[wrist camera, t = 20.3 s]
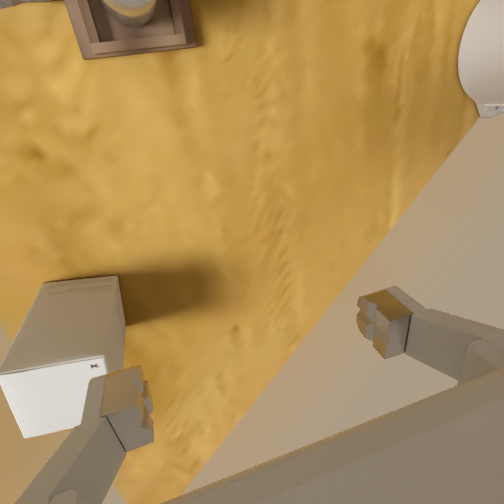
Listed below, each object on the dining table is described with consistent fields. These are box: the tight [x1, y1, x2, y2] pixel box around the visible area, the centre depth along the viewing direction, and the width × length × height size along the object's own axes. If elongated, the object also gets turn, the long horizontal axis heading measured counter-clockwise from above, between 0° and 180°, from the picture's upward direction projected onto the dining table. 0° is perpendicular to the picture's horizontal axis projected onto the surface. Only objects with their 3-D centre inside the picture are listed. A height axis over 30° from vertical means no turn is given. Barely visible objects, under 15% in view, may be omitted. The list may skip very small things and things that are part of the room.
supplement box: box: [0, 275, 126, 438], centre depth 36 cm, size 9×9×15 cm
